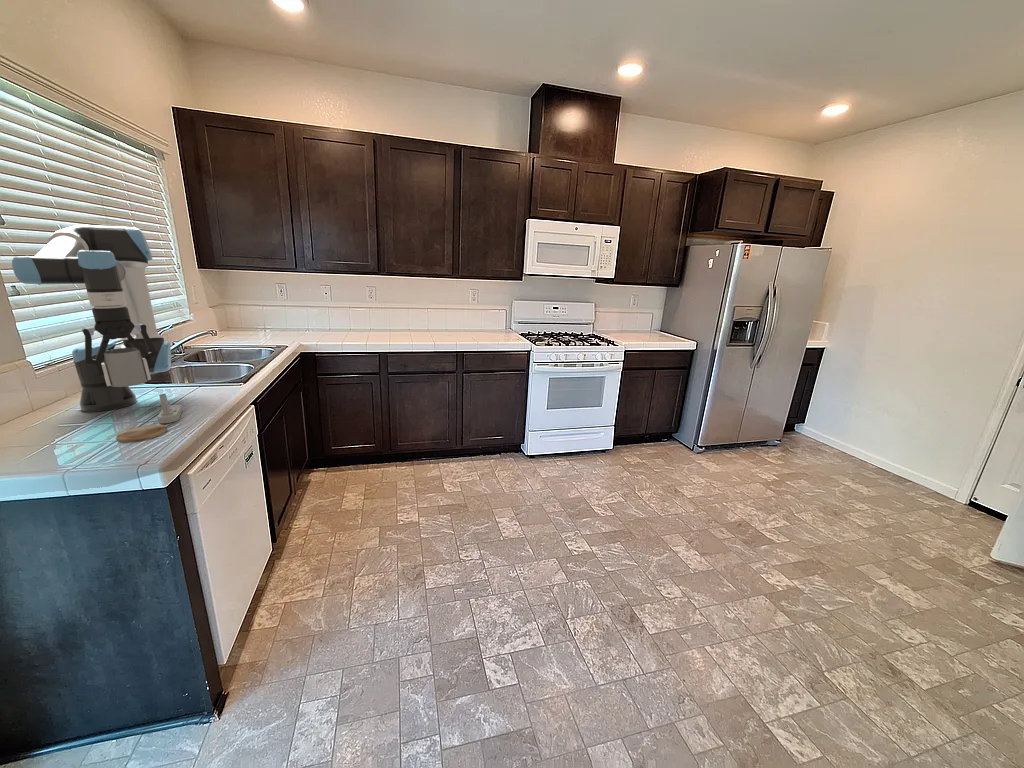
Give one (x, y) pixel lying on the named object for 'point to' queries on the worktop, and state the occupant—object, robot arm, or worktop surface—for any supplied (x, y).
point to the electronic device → (168, 411)
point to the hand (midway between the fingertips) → (129, 381)
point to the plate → (141, 433)
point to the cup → (124, 367)
